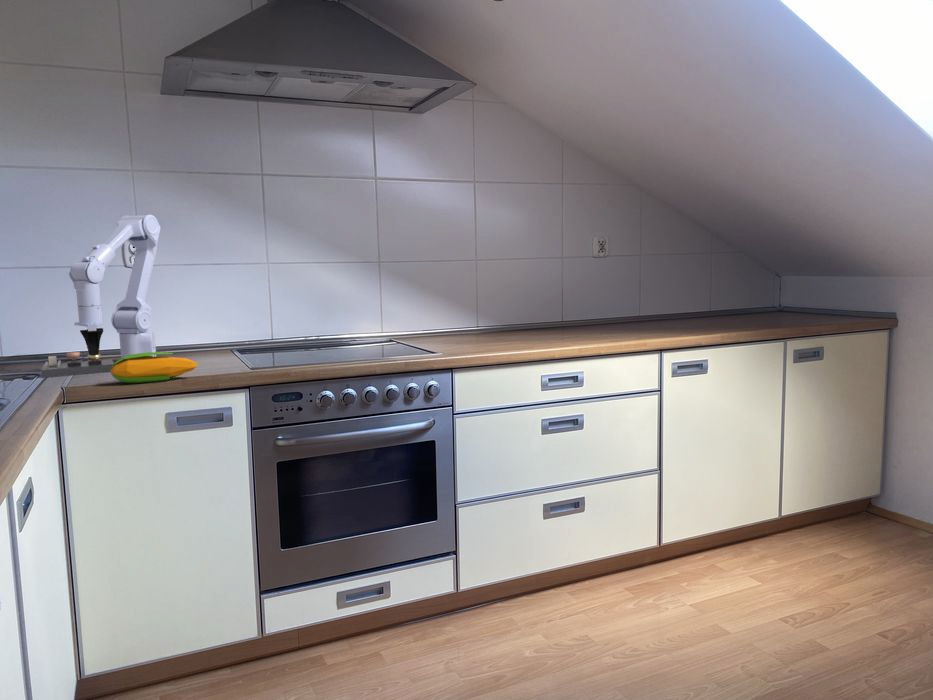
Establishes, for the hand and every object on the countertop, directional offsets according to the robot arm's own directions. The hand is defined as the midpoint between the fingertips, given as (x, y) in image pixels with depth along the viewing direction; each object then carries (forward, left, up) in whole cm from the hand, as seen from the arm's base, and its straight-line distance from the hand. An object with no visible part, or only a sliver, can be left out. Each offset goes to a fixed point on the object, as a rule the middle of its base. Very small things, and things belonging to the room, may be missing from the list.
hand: (94, 354), depth 192 cm
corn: (-20, +24, -5) cm, 31 cm away
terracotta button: (+5, +1, -1) cm, 5 cm away
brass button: (0, 0, -2) cm, 2 cm away
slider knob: (+10, +1, -2) cm, 10 cm away
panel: (+4, +1, -4) cm, 6 cm away
